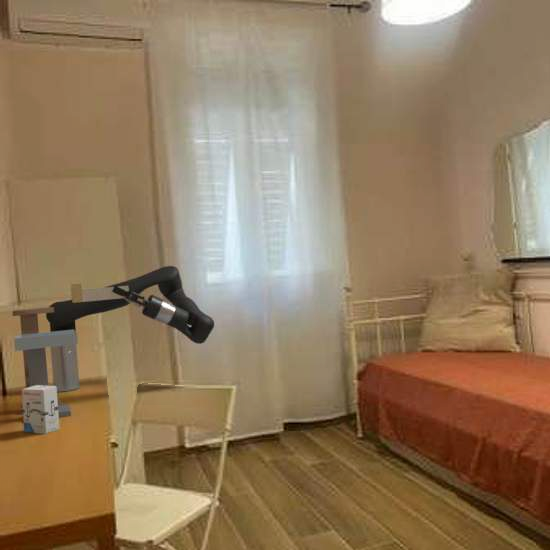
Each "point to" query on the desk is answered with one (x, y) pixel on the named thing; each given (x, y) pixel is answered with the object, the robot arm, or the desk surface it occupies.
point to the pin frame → (44, 356)
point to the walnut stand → (30, 327)
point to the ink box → (40, 409)
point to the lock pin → (94, 293)
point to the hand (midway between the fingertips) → (112, 288)
